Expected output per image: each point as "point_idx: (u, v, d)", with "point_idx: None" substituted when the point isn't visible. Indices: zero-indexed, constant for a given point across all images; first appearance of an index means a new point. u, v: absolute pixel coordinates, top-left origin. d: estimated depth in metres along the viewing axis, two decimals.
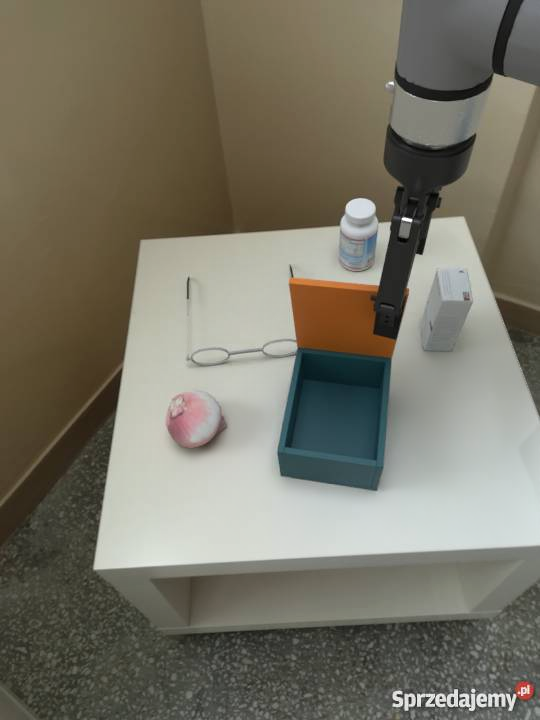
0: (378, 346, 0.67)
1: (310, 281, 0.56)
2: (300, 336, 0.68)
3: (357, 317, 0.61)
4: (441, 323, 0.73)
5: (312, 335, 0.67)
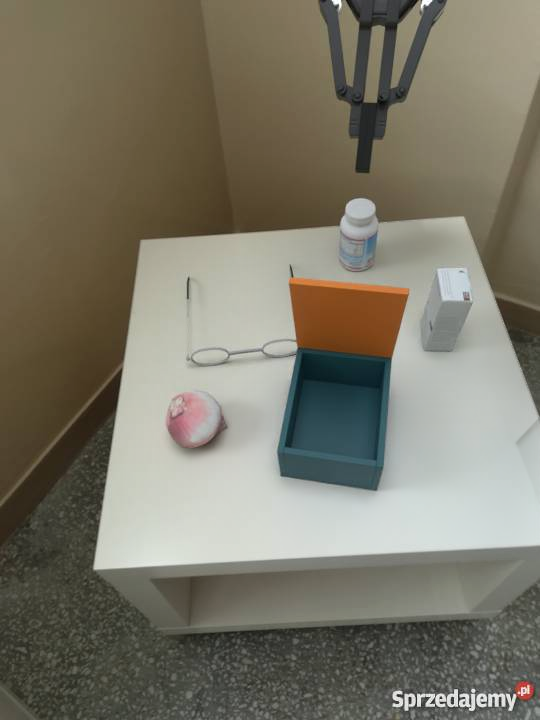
0: (378, 346, 0.67)
1: (310, 281, 0.56)
2: (300, 336, 0.68)
3: (357, 317, 0.61)
4: (441, 323, 0.73)
5: (312, 335, 0.67)
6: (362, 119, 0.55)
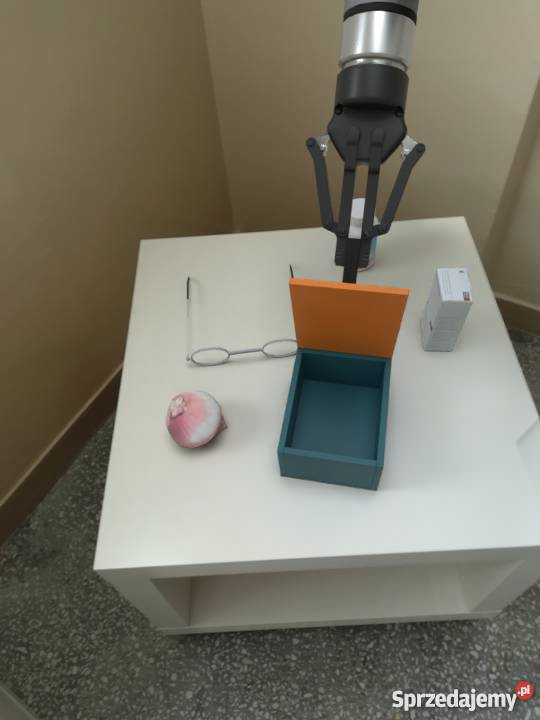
0: (378, 346, 0.67)
1: (310, 281, 0.56)
2: (300, 336, 0.68)
3: (357, 317, 0.61)
4: (441, 323, 0.73)
5: (312, 335, 0.67)
6: (347, 253, 0.58)
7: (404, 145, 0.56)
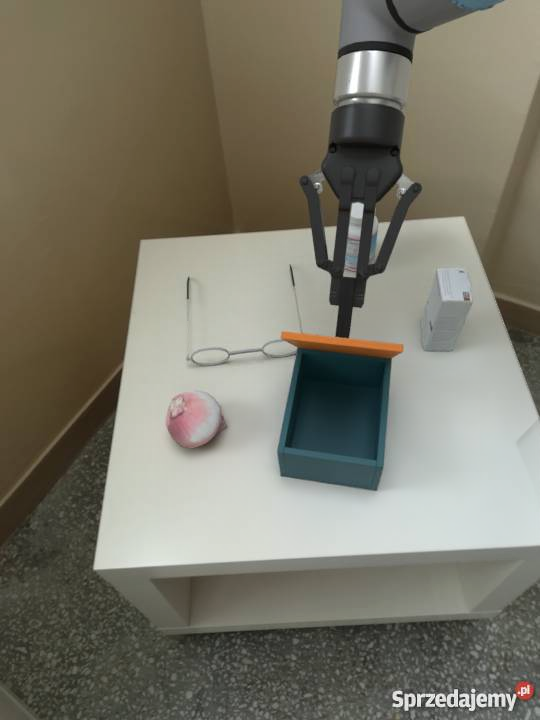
0: (377, 355, 0.67)
1: (302, 336, 0.55)
2: (299, 346, 0.68)
3: None
4: (441, 323, 0.73)
5: (310, 347, 0.67)
6: (341, 292, 0.57)
7: (400, 184, 0.55)
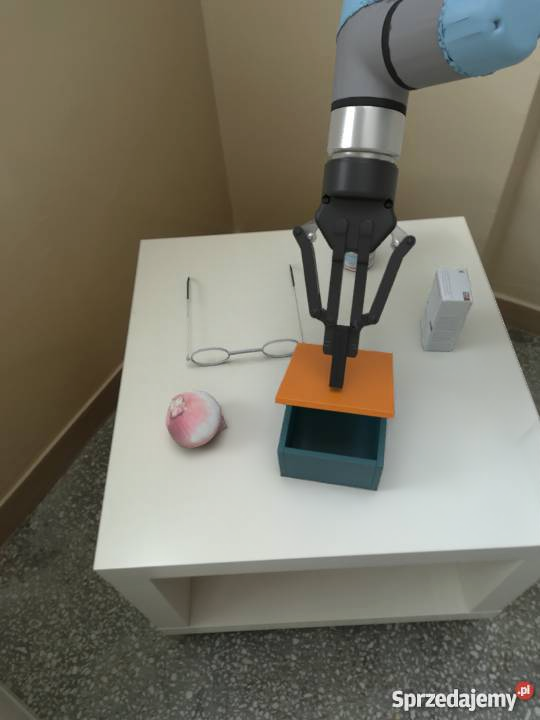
0: None
1: (296, 402, 0.57)
2: None
3: None
4: (441, 323, 0.73)
5: None
6: (335, 343, 0.57)
7: (394, 236, 0.54)
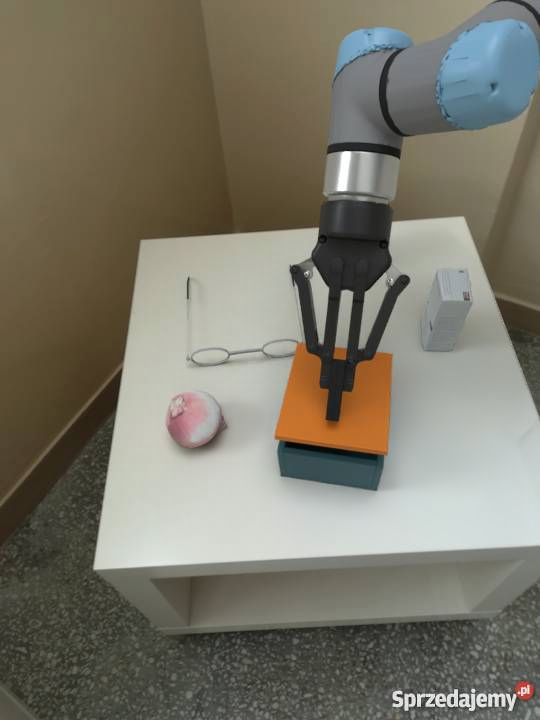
0: None
1: (294, 439, 0.60)
2: None
3: None
4: (441, 323, 0.73)
5: None
6: (331, 378, 0.58)
7: (389, 274, 0.56)
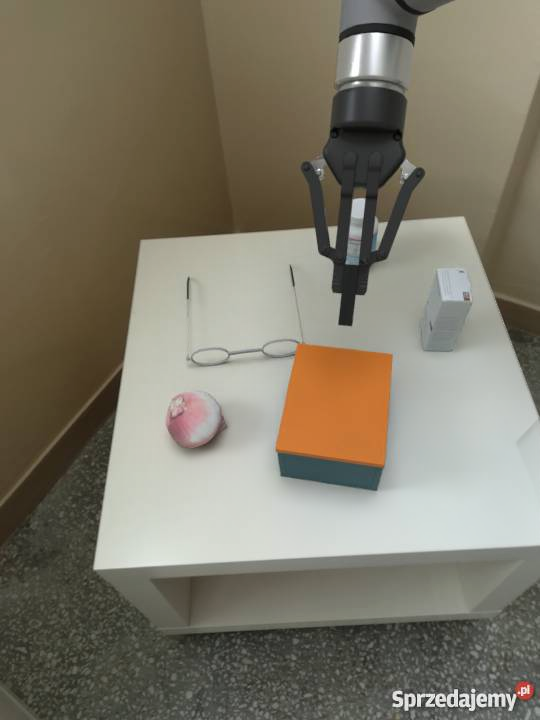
0: None
1: (294, 452, 0.62)
2: None
3: None
4: (441, 323, 0.73)
5: None
6: (344, 280, 0.56)
7: (403, 169, 0.54)
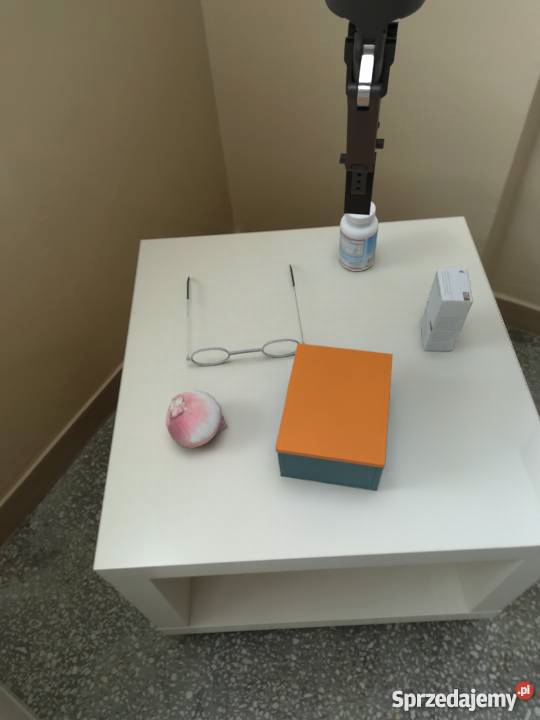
0: None
1: (294, 452, 0.62)
2: None
3: None
4: (441, 323, 0.73)
5: None
6: None
7: None
